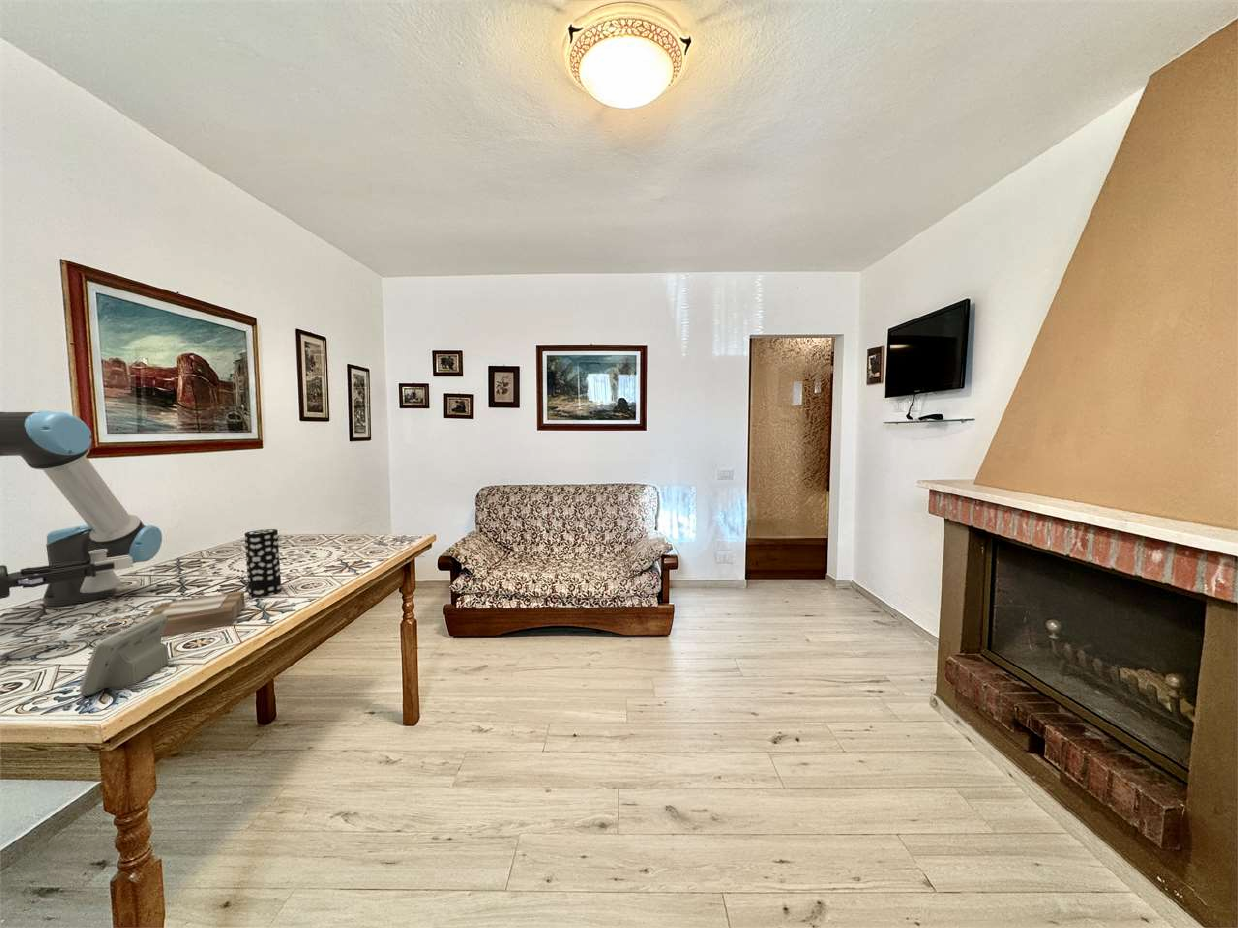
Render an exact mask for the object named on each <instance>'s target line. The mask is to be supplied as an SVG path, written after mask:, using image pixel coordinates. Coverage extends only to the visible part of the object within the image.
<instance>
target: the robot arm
mask: <svg viewBox="0 0 1238 928" xmlns="http://www.w3.org/2000/svg"><path fill="white" fill-rule="evenodd" d="M91 433H92V432H91V430H90V428H89V426H88V425H87V424H86V422H84V421H83V420H82V419H81V418H79V417H77V416H75V415H73V414H72V413H68V412H64V411H53V410H52V411H51V410H38V411H0V457H10V456H11V457H15V456H16V457H17V456H18V457H19V456H20V457H21V458H22V459H23V460H24V461H25V463H26V464H27V466H28V467H29V468H30V469H31V468H32V469H34V470H42V471H43V472H44V473H45V475H46V476H47V477H48V478H49V479H50V480H51V482H52V483H53V484H54V485H55V487H56V488H57V489H58V490H59V492H60V493H61V494H62V495H63V496H64V498H65V499H66V500H67V502H68V503H69V504H70V505H71V506H72V507H73V508H74V510H75V511H76V512H77V513H78V515H79V516H80V517H81V518H82V520H83V521H84V522H85V523H86V524H84V525H78V526H73V527H66V528H60V529H56V530H52V531H50V532H49V533H48V534H47V535H46V544H45V547H46V553H47V561H48V564H47V565H42V566H35V567H26V568H21V569H20V571H17V572H12V573H8V567H7V566H6V565H4V564H2V565H1V564H0V600H2V599H6V598H7V599H8V598H9V597H10V596H11V591H10V588H17V587H22V588H23V589H25V588H26V589H27V588H35V587H36V588H37V587H39V586H44V585H47V587H46V590H45V593H44V595H43V598H42V600H43V606H45V607H63V606H70V605H71V606H72V605H78V604H83V603H87V602H93V601H97V600H99V599H101V600H102V599H104V598H106V597H110V596H112V595H115V594H116V593H117V592H118V591H117V587H116V588H113V589H109V590H104V591H99V592H91V593H82V592H80V589H81V586H82V584H83V582H84V580H85V577H90V576H92V577H96V573H102V572H108V571H114V572H115V571H118V570H126V569H131V568H134V564H136V563H141V562H143V563H144V562H147V561H150V560H152V559H153V558H154V557H155V556H156V555H157V554H158V553H159V551H160V549H161V547H162V542H163V534H162V533H163V532H162V531H161V529H160V527H158V526H156V525H153V524H147V525H145V524H144V523H143V522H142V520H141V519H140V518H139V517H138V516H136V515H133V514H129V513H128V512H127V510H126V509H125V507H124V506H123V505H122V504H121V502H120V501H119V499H118V498H117V496H115V494H114V493H113V492H112V490H111V489H110V487H109V486H108V484H107V483H106V482H105V480H104V479H103V478H102V476H101V475H100V474H99V472H98V471H97V470H96V469H95V467H94V465H93V464H92V463H91V462H90V460H89V459H88V458H87V456H88V454H89V452H90V447H91V444H92V438H91V436H92V434H91ZM101 549H107V550H108V552H106V555H107V561H101V562H94V564H90V561H91V556H90V554H89V553H88V552H90V551H94V550H101Z"/></svg>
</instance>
